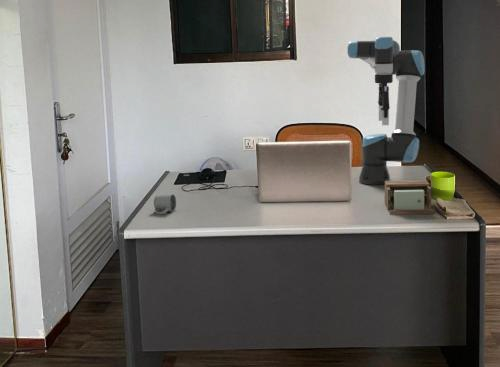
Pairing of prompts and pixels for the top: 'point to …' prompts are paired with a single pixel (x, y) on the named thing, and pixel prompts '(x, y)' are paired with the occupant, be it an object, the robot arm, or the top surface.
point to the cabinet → (408, 185)
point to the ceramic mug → (164, 203)
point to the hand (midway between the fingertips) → (383, 122)
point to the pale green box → (408, 199)
